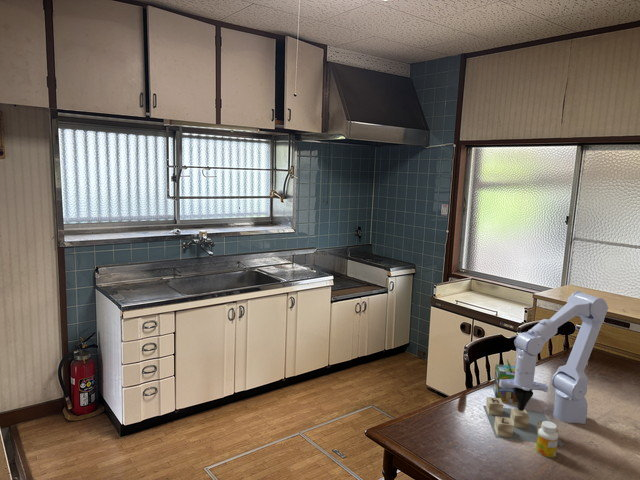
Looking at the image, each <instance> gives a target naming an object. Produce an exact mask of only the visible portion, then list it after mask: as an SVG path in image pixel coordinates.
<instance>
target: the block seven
mask: <svg viewBox="0 0 640 480" xmlns="http://www.w3.org/2000/svg"><path fill="white" fill-rule="evenodd" d="M513 427H514V425H513V423H512V421H511V419H510V418H506V417H496V416H495V425H494V429H495V431H496V434H497V436H504V437H512V436H513Z"/></svg>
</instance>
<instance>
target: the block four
mask: <svg viewBox="0 0 640 480" xmlns="http://www.w3.org/2000/svg"><path fill="white" fill-rule="evenodd" d="M485 406H486V409H487V412H488V414H491V415H500V416H502V415H503V408H504V406H505V404H504V402H502V401H501V398H496V397H490V396H487V397H486V403H485Z"/></svg>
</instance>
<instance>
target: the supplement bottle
mask: <svg viewBox="0 0 640 480" xmlns="http://www.w3.org/2000/svg"><path fill="white" fill-rule="evenodd" d="M557 427H558V426H557V424H555V423H554V422H552V421H549V420H548V421H543V422H542V425H541V428H540V429H539V430H538V437H537V443H536V444H535V445H536V446H535V451H536V452H537V453H538V454H539V455H541V456H543V457H545V458H555V457H556V456H557V450H558V445H557V443H558V437H559V434H557V432H556V430H558V428H557Z"/></svg>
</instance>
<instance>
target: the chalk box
mask: <svg viewBox="0 0 640 480" xmlns="http://www.w3.org/2000/svg"><path fill="white" fill-rule="evenodd" d="M506 363H507V364H495V366H494V367H495V368H494V370H495V371H494V379H493V380H494V381H493V382H494V383H493V388H492V389H493V394H494V396H495V397H494V398H501V401H502V403H510V404H517V399H516V395H515V392H514V389H513V388H510V387H504V388H502V387H500V386H499V380H500V379H502V380H505V379H514V377H515V369H516V365H511V362H510V361H509V359H508V358H506Z"/></svg>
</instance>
